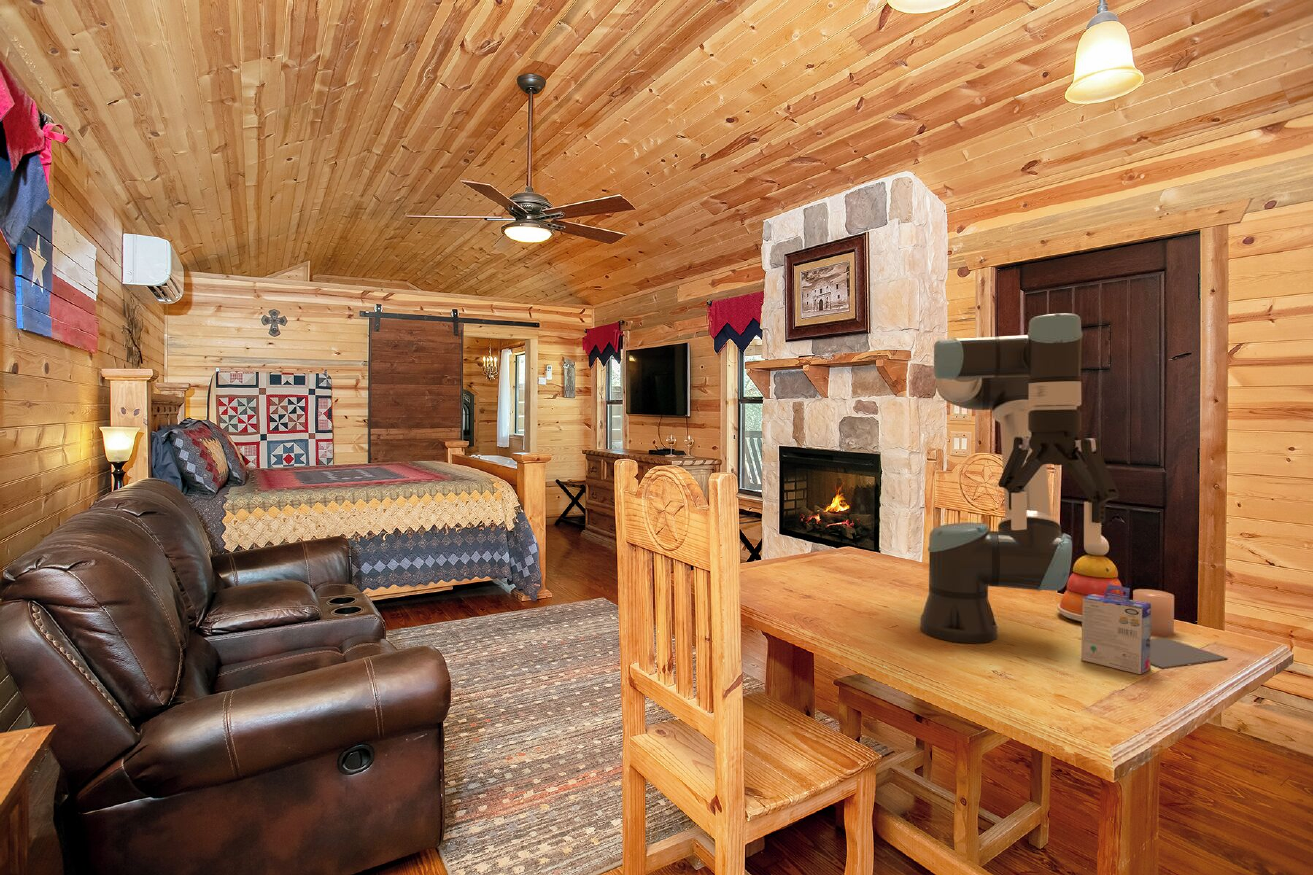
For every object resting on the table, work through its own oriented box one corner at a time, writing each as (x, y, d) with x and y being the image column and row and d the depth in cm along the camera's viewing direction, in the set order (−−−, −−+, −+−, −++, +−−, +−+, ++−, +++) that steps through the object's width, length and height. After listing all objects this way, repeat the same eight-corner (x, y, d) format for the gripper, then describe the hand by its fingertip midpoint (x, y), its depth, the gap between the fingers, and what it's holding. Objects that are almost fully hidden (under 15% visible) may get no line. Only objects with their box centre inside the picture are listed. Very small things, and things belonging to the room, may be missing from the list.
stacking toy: (1098, 632, 141) (1098, 541, 140) (1042, 613, 154) (1042, 530, 154) (1148, 625, 145) (1149, 537, 144) (1090, 607, 158) (1090, 527, 158)
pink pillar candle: (1124, 626, 144) (1125, 590, 144) (1149, 623, 146) (1150, 588, 146) (1156, 637, 137) (1156, 599, 137) (1182, 633, 139) (1182, 596, 139)
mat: (1102, 646, 132) (1102, 645, 132) (1164, 638, 136) (1164, 637, 136) (1162, 668, 121) (1162, 667, 121) (1227, 659, 125) (1227, 657, 125)
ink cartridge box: (1152, 668, 121) (1153, 590, 120) (1143, 676, 117) (1143, 595, 117) (1090, 653, 128) (1091, 580, 128) (1080, 660, 125) (1080, 585, 124)
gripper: (977, 409, 120) (976, 526, 120) (1111, 407, 96) (1110, 551, 97) (1008, 409, 122) (1008, 523, 123) (1147, 406, 99) (1146, 547, 99)
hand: (1053, 536), depth 110 cm, fingers open, 13 cm apart
